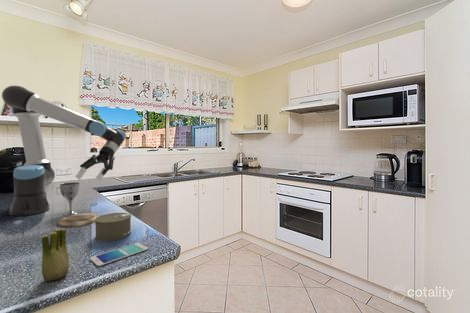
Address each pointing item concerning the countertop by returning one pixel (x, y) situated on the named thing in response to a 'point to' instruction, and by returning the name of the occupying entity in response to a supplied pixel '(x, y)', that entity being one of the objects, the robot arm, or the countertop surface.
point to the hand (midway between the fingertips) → (87, 178)
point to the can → (113, 226)
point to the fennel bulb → (54, 256)
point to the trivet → (78, 220)
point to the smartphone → (117, 254)
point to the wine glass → (70, 194)
